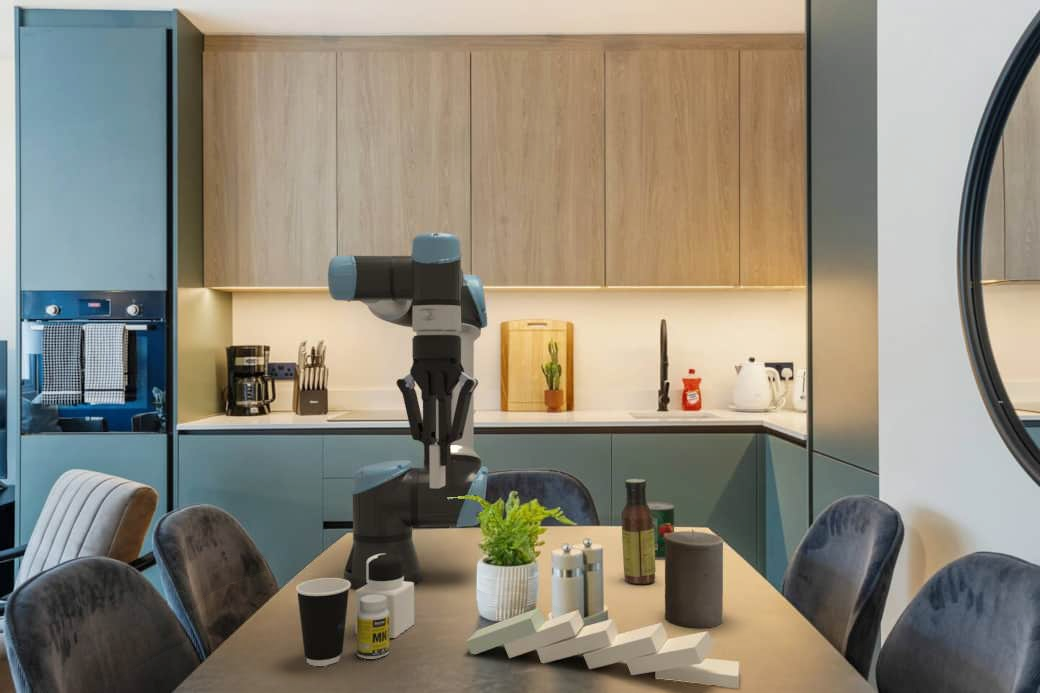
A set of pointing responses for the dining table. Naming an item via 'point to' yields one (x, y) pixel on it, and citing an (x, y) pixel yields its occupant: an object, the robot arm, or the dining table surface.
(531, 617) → the grey-green tall block
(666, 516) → the canned tomato
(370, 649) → the supplement bottle
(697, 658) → the domino
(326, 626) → the dixie cup
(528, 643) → the domino
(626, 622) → the dining table surface
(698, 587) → the pillar candle
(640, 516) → the sauce bottle
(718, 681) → the domino
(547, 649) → the domino
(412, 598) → the white bottle
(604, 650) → the domino
